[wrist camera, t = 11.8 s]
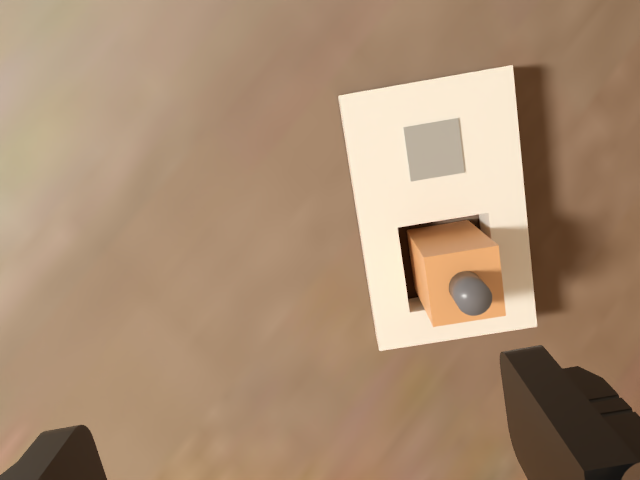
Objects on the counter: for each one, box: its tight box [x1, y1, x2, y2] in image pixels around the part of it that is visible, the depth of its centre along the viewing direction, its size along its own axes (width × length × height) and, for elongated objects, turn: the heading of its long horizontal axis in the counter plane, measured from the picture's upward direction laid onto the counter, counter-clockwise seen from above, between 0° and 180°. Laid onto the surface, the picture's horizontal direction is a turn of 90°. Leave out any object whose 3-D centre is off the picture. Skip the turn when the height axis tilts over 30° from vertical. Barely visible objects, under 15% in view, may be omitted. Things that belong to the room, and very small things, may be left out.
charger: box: [406, 220, 506, 327], centre depth 34 cm, size 4×4×9 cm
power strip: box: [338, 65, 537, 351], centre depth 37 cm, size 16×10×3 cm, turn 10°
